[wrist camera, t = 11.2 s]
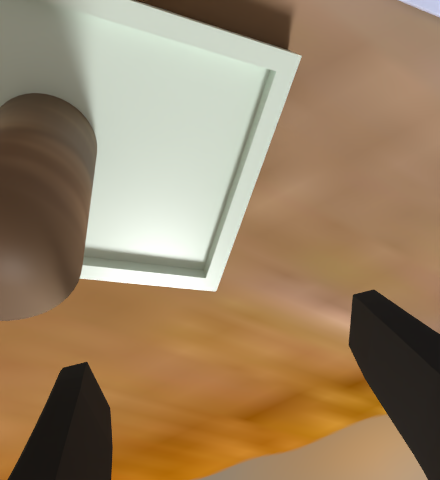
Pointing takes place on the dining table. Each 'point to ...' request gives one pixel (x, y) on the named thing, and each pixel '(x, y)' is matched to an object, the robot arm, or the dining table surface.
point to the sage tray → (154, 127)
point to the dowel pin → (42, 202)
